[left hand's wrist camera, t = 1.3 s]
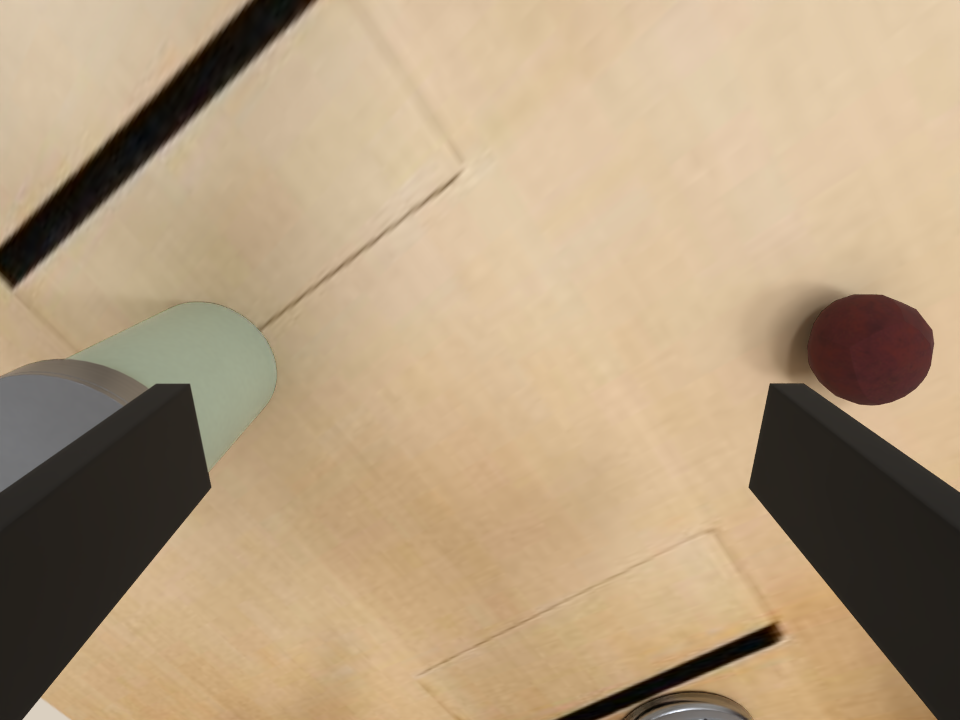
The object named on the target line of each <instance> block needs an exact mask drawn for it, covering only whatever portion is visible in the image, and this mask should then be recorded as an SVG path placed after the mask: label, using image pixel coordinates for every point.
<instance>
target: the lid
mask: <svg viewBox="0 0 960 720" xmlns="http://www.w3.org/2000/svg"><path fill="white" fill-rule="evenodd" d="M146 390H148V388H147V387H146V386H144V385H143V384H141V383H140V382H138V381H136V380H135V379H133V378H131V377H129V376H127V375H125V374H123V373H121V372H119V371H117V370H114V369H112V368H109V367H106V366H103V365H100V364H96V363H92V362H88V361H81V360H73V359H52V360H43V361H39V362H35V363H31V364H27V365H25V366H23V367H20V368H18V369H15V370H13V371H11V372H9V373H7V374H5V375H2V376H0V492H2V491H3V490H4V489H6V488H7V487H9V486H10V485H12V484H13V483H14V482H16V481H17V480H19V479H20V478H22V477H23V476H24V475H26V474H27V473H29V472H30V471H32V470H33V469H35V468H36V467H37V466H39V465H40V464H42V463H43V462H45V461H46V460H47V459H49V458H50V457H52V456H53V455H55V454H56V453H57V452H59V451H60V450H62V449H63V448H65V447H66V446H67V445H69V444H70V443H72V442H73V441H75V440H76V439H78V438H79V437H80V436H82V435H83V434H85V433H86V432H88V431H89V430H90V429H92V428H93V427H95V426H96V425H98V424H99V423H100V422H102V421H103V420H105V419H106V418H108V417H109V416H110V415H112V414H113V413H115V412H116V411H118V410H119V409H120V408H122V407H123V406H125V405H126V404H128V403H129V402H131V401H132V400H133V399H135V398H136V397H138V396H139V395H141V394H142V393H143V392H145V391H146Z"/></svg>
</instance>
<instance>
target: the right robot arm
mask: <svg viewBox="0 0 960 720" xmlns="http://www.w3.org/2000/svg"><path fill="white" fill-rule="evenodd" d="M624 720H753V718H752V717H751V715H750V714H749V713H748V712H747V711H746V710H745V709H744V708H743V707H742V706H740V705H739V704H737V703H736V702H734V701H732V700H730V699H727V698H725V697H722V696H718V695H714V694H709V693H697V692H690V693H679V694H673V695H668V696H664V697H661V698H658V699H655V700H653V701H650V702H648V703H646V704H644V705H642V706H641V707H639V708H637V709H636V710H634V711H633V712H632V713H631V714H629V715H628V716H627V717H626V718H625V719H624Z"/></svg>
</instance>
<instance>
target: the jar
mask: <svg viewBox="0 0 960 720" xmlns="http://www.w3.org/2000/svg"><path fill="white" fill-rule="evenodd" d="M66 359H73V360H81V361H88V362H92V363H96V364H100V365H103V366H106V367H109V368H112V369H114V370H117V371H119V372H121V373H123V374H125V375H127V376H129V377H131V378H133V379H135V380H136V381H138V382H140V383H141V384H143V385H144V386H146V387H147V388H148V389H149V388H151V387H152V386H153V385H155V384H190V386H191V390H192V395H193V400H194V405H195V410H196V415H197V420H198V425H199V429H200V434H201V439H202V444H203V449H204V454H205V459H206V464H207V468H208V472H209V471H210V470H211V469H212V468H213V467H214V465H215V464H216V463H217V462H218V461H219V460H220V458H221V457H222V456H223V455H224V454H225V453H226V452H227V450H228V449H229V448H230V447H231V446H232V445H233V443H234V442H235V441H236V440H237V439H238V438H239V436H240V435H241V434H242V433H243V432H244V431H245V429H246V428H247V427H248V426H249V425H250V424H251V423H252V421H253V420H254V419H255V418H256V417H257V416H258V414H259V413H260V412H261V411H262V410H263V409H264V407H265V406H266V405H267V403H268V402H269V401H270V399H271V397H272V395H273V392H274V389H275V386H276V380H277V370H276V362H275V359H274V355H273V352H272V350H271V348H270V346H269V344H268V342H267V340H266V339H265V337H264V336H263V335H262V333H261V332H260V331H259V330H258V329H257V328H256V326H255V325H253V324H252V323H251V322H250V321H249V320H248V319H246V318H245V317H243V316H242V315H240V314H239V313H237V312H235V311H233V310H231V309H229V308H226V307H224V306H221V305H217V304H213V303H207V302H189V303H183V304H179V305H176V306H174V307H171V308H169V309H167V310H165V311H163V312H161V313H159V314H157V315H155V316H153V317H151V318H149V319H147V320H144V321H142V322H140V323H138V324H136V325H134V326H132V327H130V328H128V329H126V330H124V331H122V332H120V333H118V334H116V335H114V336H111V337H109V338H107V339H105V340H103V341H101V342H99V343H97V344H95V345H93V346H91V347H89V348H87V349H85V350H83V351H81V352H79V353H76V354H74V355H72V356H70V357H68V358H66Z"/></svg>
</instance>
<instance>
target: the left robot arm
mask: <svg viewBox="0 0 960 720" xmlns="http://www.w3.org/2000/svg"><path fill="white" fill-rule="evenodd" d="M210 489H211V483H210V478H209V473H208V468H207V464H206V459H205V454H204V449H203V444H202V439H201V434H200V429H199V425H198V420H197V415H196V410H195V405H194V400H193V395H192V390H191V386H190V384H155V385H153V386H152V387H151V388H149V389H148V390H146V391H145V392H143V393H142V394H141V395H139V396H138V397H136V398H135V399H133V400H132V401H131V402H129V403H128V404H126V405H125V406H123V407H122V408H120V409H119V410H118V411H116V412H115V413H113V414H112V415H110V416H109V417H108V418H106V419H105V420H103V421H102V422H100V423H99V424H98V425H96V426H95V427H93V428H92V429H90V430H89V431H88V432H86V433H85V434H83V435H82V436H80V437H79V438H78V439H76V440H75V441H73V442H72V443H70V444H69V445H67V446H66V447H65V448H63V449H62V450H60V451H59V452H57V453H56V454H55V455H53V456H52V457H50V458H49V459H47V460H46V461H45V462H43V463H42V464H40V465H39V466H37V467H36V468H35V469H33V470H32V471H30V472H29V473H27V474H26V475H24V476H23V477H22V478H20V479H19V480H17V481H16V482H14V483H13V484H12V485H10V486H9V487H7V488H6V489H4V490H3V491H2V492H0V720H22V719H23V718H24V717H25V716H26V714H27V713H28V712H29V711H30V710H31V708H32V707H33V706H34V705H35V703H36V702H37V701H38V700H39V699H40V697H41V696H42V695H43V694H44V692H45V691H46V690H47V689H48V688H49V686H50V685H51V684H52V683H53V681H54V680H55V679H56V678H57V676H58V675H59V674H60V673H61V672H62V670H63V669H64V668H65V667H66V665H67V664H68V663H69V662H70V660H71V659H72V658H73V657H74V656H75V654H76V653H77V652H78V651H79V649H80V648H81V647H82V646H83V645H84V643H85V642H86V641H87V640H88V638H89V637H90V636H91V635H92V633H93V632H94V631H95V630H96V629H97V627H98V626H99V625H100V624H101V622H102V621H103V620H104V619H105V618H106V616H107V615H108V614H109V613H110V611H111V610H112V609H113V608H114V606H115V605H116V604H117V603H118V602H119V600H120V599H121V598H122V597H123V595H124V594H125V593H126V592H127V590H128V589H129V588H130V587H131V586H132V584H133V583H134V582H135V581H136V579H137V578H138V577H139V576H140V575H141V573H142V572H143V571H144V570H145V568H146V567H147V566H148V565H149V563H150V562H151V561H152V560H153V559H154V557H155V556H156V555H157V554H158V552H159V551H160V550H161V549H162V548H163V546H164V545H165V544H166V543H167V541H168V540H169V539H170V538H171V536H172V535H173V534H174V533H175V532H176V530H177V529H178V528H179V527H180V525H181V524H182V523H183V522H184V520H185V519H186V518H187V517H188V516H189V514H190V513H191V512H192V511H193V509H194V508H195V507H196V506H197V505H198V503H199V502H200V501H201V500H202V498H203V497H204V496H205V495H206V493H207V492H208V491H209V490H210ZM749 489H750V490H751V491H752V492H753V493H754V495H755V496H756V497H757V498H758V500H759V501H760V502H761V503H762V505H763V506H764V507H765V508H766V509H767V511H768V512H769V513H770V514H771V516H772V517H773V518H774V519H775V520H776V522H777V523H778V524H779V525H780V527H781V528H782V529H783V530H784V532H785V533H786V534H787V535H788V536H789V538H790V539H791V540H792V541H793V543H794V544H795V545H796V546H797V548H798V549H799V550H800V551H801V552H802V554H803V555H804V556H805V557H806V559H807V560H808V561H809V562H810V563H811V565H812V566H813V567H814V568H815V570H816V571H817V572H818V573H819V575H820V576H821V577H822V578H823V579H824V581H825V582H826V583H827V584H828V586H829V587H830V588H831V589H832V590H833V592H834V593H835V594H836V595H837V597H838V598H839V599H840V600H841V602H842V603H843V604H844V605H845V606H846V608H847V609H848V610H849V611H850V613H851V614H852V615H853V616H854V618H855V619H856V620H857V621H858V622H859V624H860V625H861V626H862V627H863V629H864V630H865V631H866V632H867V633H868V635H869V636H870V637H871V638H872V640H873V641H874V642H875V643H876V645H877V646H878V647H879V648H880V649H881V651H882V652H883V653H884V654H885V656H886V657H887V658H888V659H889V660H890V662H891V663H892V664H893V665H894V667H895V668H896V669H897V670H898V672H899V673H900V674H901V675H902V676H903V678H904V679H905V680H906V681H907V683H908V684H909V685H910V686H911V688H912V689H913V690H914V691H915V692H916V694H917V695H918V696H919V697H920V699H921V700H922V701H923V702H924V703H925V705H926V706H927V707H928V708H929V710H930V711H931V712H932V713H933V715H934V716H935V717H936V718H937V719H938V720H960V492H958V491H957V490H956V489H954V488H953V487H951V486H950V485H948V484H947V483H946V482H944V481H943V480H941V479H940V478H938V477H937V476H936V475H934V474H933V473H931V472H930V471H928V470H927V469H925V468H924V467H923V466H921V465H920V464H918V463H917V462H915V461H914V460H913V459H911V458H910V457H908V456H907V455H905V454H904V453H903V452H901V451H900V450H898V449H897V448H895V447H894V446H893V445H891V444H890V443H888V442H887V441H885V440H884V439H882V438H881V437H880V436H878V435H877V434H875V433H874V432H872V431H871V430H870V429H868V428H867V427H865V426H864V425H862V424H861V423H860V422H858V421H857V420H855V419H854V418H852V417H851V416H850V415H848V414H847V413H845V412H844V411H842V410H841V409H840V408H838V407H837V406H835V405H834V404H832V403H831V402H829V401H828V400H827V399H825V398H824V397H822V396H821V395H819V394H818V393H817V392H815V391H814V390H812V389H811V388H809V387H808V386H807V385H805V384H770V386H769V390H768V395H767V400H766V405H765V410H764V415H763V420H762V425H761V429H760V434H759V439H758V444H757V449H756V454H755V459H754V464H753V468H752V473H751V478H750V483H749Z"/></svg>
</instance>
